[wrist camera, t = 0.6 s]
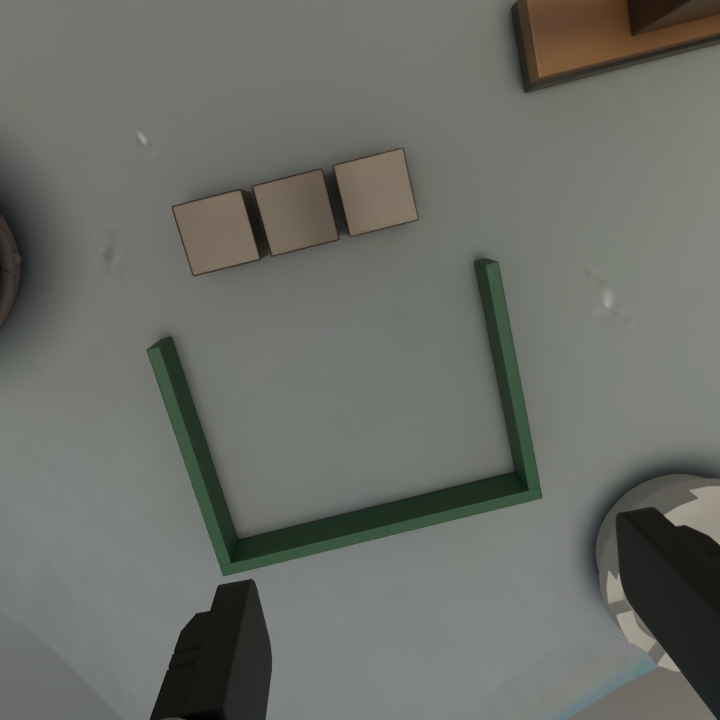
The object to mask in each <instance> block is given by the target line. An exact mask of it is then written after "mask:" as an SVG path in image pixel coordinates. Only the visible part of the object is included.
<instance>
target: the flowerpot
mask: <svg viewBox="0 0 720 720" xmlns="http://www.w3.org/2000/svg"><path fill="white" fill-rule="evenodd" d="M21 260H22V259H21V256H20V255H19V254H18V249H17V246H16V242H15V240H14V237H13V235H12V233H11V231H10V229H9V227H8V225H7V223H6V221H5V220H4V218H3V216H2V215H1V213H0V326H1V325H2V323H3V322H4V321H5V319H6V317H7V316H8V314H9V312H10V310H11V308H12V306H13V304H14V301H15V298H16V295H17V291H18V287H19V281H20V263H21Z"/></svg>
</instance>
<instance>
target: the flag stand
mask: <svg viewBox="0 0 720 720" xmlns="http://www.w3.org/2000/svg"><path fill="white" fill-rule="evenodd" d="M647 507H654V508H656V509H657V510H658V511H660V512H661V513H662V514H663V515H664V516H665V517H666V518H667V519H668V520H669V521H671V522H672V523H673V524H674V525H675V526H681V525H686V526H688V527H691V528H693V529H695V530H697V531H700V532H702V533H704V534H706V535H709V536H710V537H711V538H712V539H713V540H715V541H716V542H717V543H718V544H719V545H720V479H717V478H715V479H705V478H703V477H700V476H695V475H690V474H670V475H665V476H660V477H656V478H653V479H651V480H648V481H645V482H643V483H641V484H639V485H638V486H636V487H634V488H633V489H631V490H629V491H628V492H627V493H626V494H625V495H623V496H622V497H621V498H620V499H619V500H618V501H617V502H616V503H615V504H614V506H613V507H612V508H611V509H610V510H609V512H608V513H607V515H606V517H605V519H604V520H603V522H602V524H601V527H600V530H599V533H598V536H597V540H596V549H595V554H596V563H597V567H598V570H599V581H600V590H601V595H602V598H603V601H604V604H605V607H606V609H607V611H608V612H609V614H610V615H611V617H612V619H613V620H614V622H615V623H616V625H617V626H618V627H619V629H620V630H621V632H622V633H623V635H624V636H625V637H626V639H627V640H628V642H629V643H630V644H632V643H633V644H634V645H636V646H638V647H639V648H641V649H643V650H644V651H646V652H647V653H648V654H649V655H650V656H651V658H652V659H653V660H654V662H655V663H656V665H658V666H661V667H664V668H667V669H670V670H672V671H678V672H681V671H680V670H679V669H678V667H677V666H676V665H675V663H674V662H673V661H672V659H671V658H670V657H669V655H668V654H667V653H666V651H665V650H664V649H663V647H662V646H661V645H660V644H659V642H658V641H657V640H656V638H655V637H654V636H653V634H652V633H651V632H650V630H649V629H648V628H647V626H646V625H645V624H644V622H643V621H642V620H641V619H640V617H639V616H638V615H637V613H636V612H635V611H634V609H633V608H632V607H631V605H630V604H629V602H628V600H627V598H626V596H625V594H624V591H623V588H622V585H621V581H620V574H619V562H618V549H617V537H616V523H615V521H616V515H617V514H618V513H620V512H625V511H631V510H636V509H642V508H647Z"/></svg>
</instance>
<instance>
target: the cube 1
mask: <svg viewBox="0 0 720 720" xmlns="http://www.w3.org/2000/svg"><path fill="white" fill-rule="evenodd" d="M172 211H173V214H174V217H175V220H176V223H177V227H178V230H179V233H180V236H181V240H182V243H183V246H184V249H185V253H186V256H187V259H188V262H189V265H190V269H191V272H192V275H193V276H198V275H202V274H206V273H210V272H214V271H218V270H222V269H226V268H230V267H234V266H238V265H242V264H246V263H250V262H254V261H258V260H260V259H262V258H264V257H265V256H267V255H268V253H267V250H266V246H265V242H264V239H263V235H262V232H261V228H260V224H259V221H258V217H257V214H256V210H255V206H254V203H253V199H252V196H251V193H250V192H249V191H246V190H242V189H237V190H233V191H229V192H225V193H221V194H217V195H213V196H210V197H206V198H202V199H198V200H194V201H190V202H186V203H182V204H178V205H174V206H172Z"/></svg>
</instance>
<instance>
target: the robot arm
mask: <svg viewBox="0 0 720 720" xmlns="http://www.w3.org/2000/svg"><path fill="white" fill-rule="evenodd" d="M615 523H616V537H617V549H618V562H619V574H620V581H621V585H622V588H623V591H624V594H625V596H626V598H627V600H628V602H629V604H630V605H631V607H632V608H633V609H634V611H635V612H636V613H637V615H638V616H639V617H640V619H641V620H642V621H643V622H644V624H645V625H646V626H647V628H648V629H649V630H650V632H651V633H652V634H653V636H654V637H655V638H656V640H657V641H658V642H659V644H660V645H661V646H662V647H663V649H664V650H665V651H666V653H667V654H668V655H669V657H670V658H671V659H672V661H673V662H674V663H675V665H676V666H677V667H678V669H679V670H680V671H681V672H682V673H683V675H684V676H685V678H686V679H687V680H688V682H689V683H690V684H691V685H692V687H693V688H694V690H695V691H696V692H697V694H698V695H699V696H700V697H701V699H702V700H703V701H704V703H705V704H706V705H707V707H708V708H709V709H710V711H711V712H712V713H713V714H714V716H715V717H716V718H717V720H720V545H719V544H718V543H717V542H716V541H715V540H713V539H712V538H711V537H710V536H709V535H706V534H704V533H702V532H700V531H697V530H695V529H693V528H691V527H688V526H686V525H681V526H675V525H674V524H673V523H672V522H671V521H669V520H668V519H667V518H666V517H665V516H664V515H663V514H662V513H661V512H660V511H658V510H657V509H656V508H654V507H647V508H642V509H636V510H631V511H625V512H620V513H618V514H617V515H616V521H615ZM271 672H272V654H271V645H270V639H269V635H268V631H267V627H266V623H265V619H264V615H263V611H262V607H261V603H260V599H259V595H258V591H257V587H256V584H255V582H254V580H253V579H249V580H244V581H238V582H233V583H227V584H222V585H219V586H218V587H217V590H216V593H215V596H214V600H213V603H212V607H211V610H210V611H207V612H202V613H196V614H195V616H194V617H193V618H192V619H191V620H190V621H189V623H188V624H187V625H186V626H185V627H184V629H183V630H182V631H181V633H180V636H179V638H178V641H177V644H176V647H175V650H174V654H173V655H172V658H171V661H170V664H169V670H167V672H166V675H165V678H164V681H163V683H162V686H161V689H160V692H159V695H158V698H157V700H156V703H155V706H154V709H153V712H152V714H151V717H150V720H265V719H266V711H267V703H268V696H269V688H270V680H271Z"/></svg>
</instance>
